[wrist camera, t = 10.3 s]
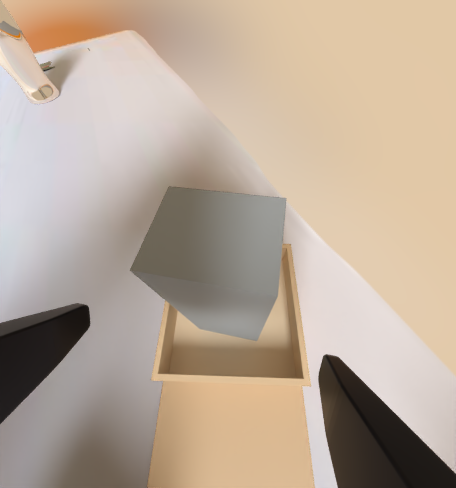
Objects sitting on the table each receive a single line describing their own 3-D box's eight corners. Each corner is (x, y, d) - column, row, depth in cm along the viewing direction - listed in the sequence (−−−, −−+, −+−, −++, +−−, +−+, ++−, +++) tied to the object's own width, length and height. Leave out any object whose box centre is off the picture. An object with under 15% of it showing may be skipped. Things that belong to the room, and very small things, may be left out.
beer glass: (66, 96, 44) (-8, -17, 31) (32, 109, 42) (-61, -5, 29) (56, 85, 47) (-16, -21, 34) (24, 98, 45) (-65, -11, 32)
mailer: (149, 484, 14) (127, 510, 12) (183, 259, 23) (175, 245, 20) (314, 496, 13) (331, 527, 11) (285, 258, 22) (290, 244, 19)
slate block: (199, 329, 18) (130, 270, 7) (210, 285, 20) (168, 186, 9) (256, 341, 18) (278, 296, 6) (262, 294, 20) (286, 198, 8)
